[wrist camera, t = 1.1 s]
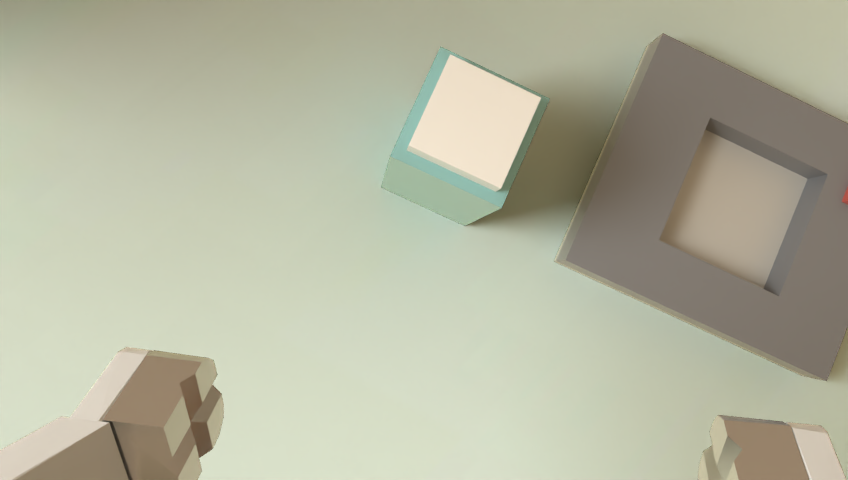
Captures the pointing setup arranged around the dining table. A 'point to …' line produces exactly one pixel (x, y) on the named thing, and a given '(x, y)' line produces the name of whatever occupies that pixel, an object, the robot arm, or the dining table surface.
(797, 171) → the socket plate
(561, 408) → the dining table surface
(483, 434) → the dining table surface
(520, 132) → the plug
